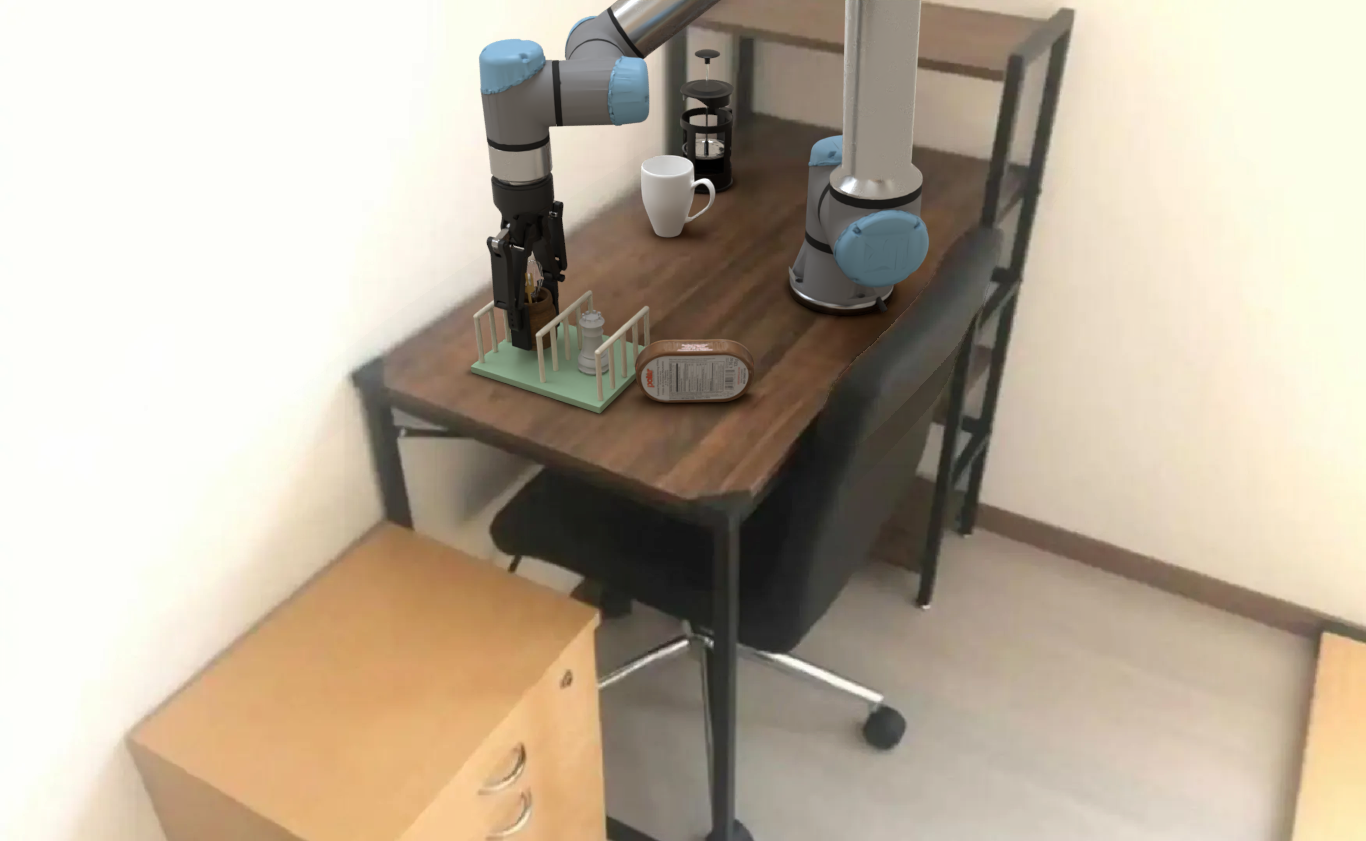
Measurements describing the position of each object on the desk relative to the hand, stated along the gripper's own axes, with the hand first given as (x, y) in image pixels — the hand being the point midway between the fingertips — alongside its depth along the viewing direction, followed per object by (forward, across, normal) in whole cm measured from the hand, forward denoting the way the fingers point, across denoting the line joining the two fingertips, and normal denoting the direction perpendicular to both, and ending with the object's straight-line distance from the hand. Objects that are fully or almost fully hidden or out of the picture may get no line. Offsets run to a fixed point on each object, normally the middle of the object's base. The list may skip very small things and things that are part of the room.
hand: (536, 335), depth 150 cm
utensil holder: (+1, 0, 0) cm, 1 cm away
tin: (+3, -1, +23) cm, 24 cm away
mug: (+3, -41, -1) cm, 41 cm away
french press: (+3, -61, -6) cm, 61 cm away
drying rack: (+3, 0, +4) cm, 5 cm away
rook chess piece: (+2, 0, +9) cm, 9 cm away
